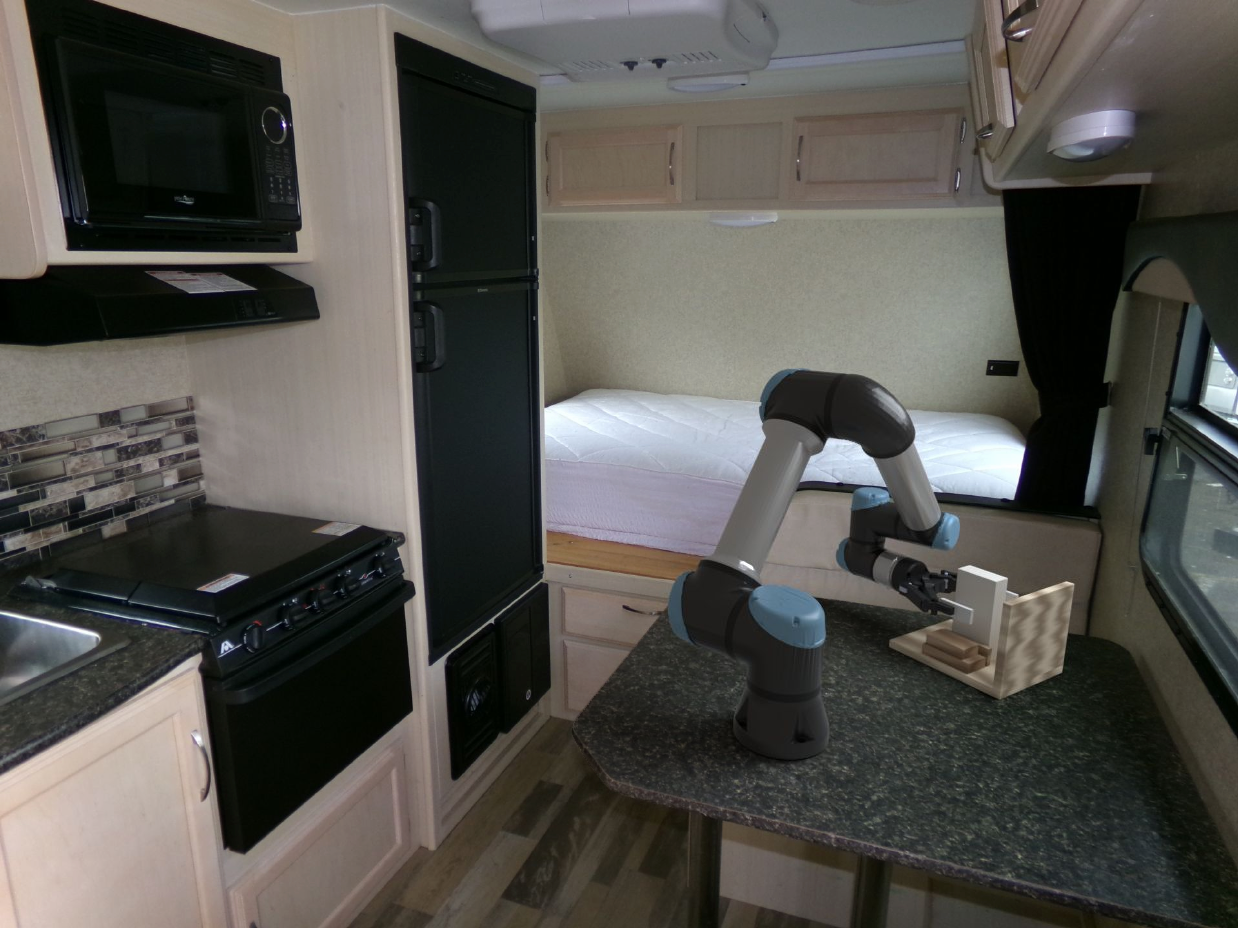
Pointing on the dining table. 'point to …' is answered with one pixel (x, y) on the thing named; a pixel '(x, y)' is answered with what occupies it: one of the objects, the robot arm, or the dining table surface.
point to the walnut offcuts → (953, 651)
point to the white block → (981, 605)
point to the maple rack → (1011, 643)
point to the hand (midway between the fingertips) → (995, 609)
